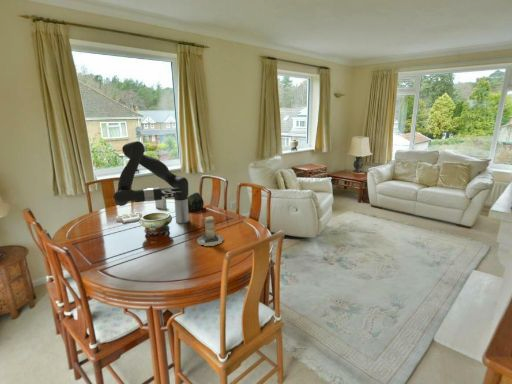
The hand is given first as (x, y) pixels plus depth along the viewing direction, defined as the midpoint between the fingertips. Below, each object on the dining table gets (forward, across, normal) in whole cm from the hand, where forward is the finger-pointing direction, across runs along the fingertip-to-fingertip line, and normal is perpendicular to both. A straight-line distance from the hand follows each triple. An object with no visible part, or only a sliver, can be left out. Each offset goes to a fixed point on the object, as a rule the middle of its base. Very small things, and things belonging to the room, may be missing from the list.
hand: (180, 191), depth 175 cm
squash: (+21, +57, +32) cm, 69 cm away
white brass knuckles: (-29, +54, +32) cm, 69 cm away
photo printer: (-4, +73, +32) cm, 80 cm away
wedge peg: (+14, -10, +30) cm, 35 cm away
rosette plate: (+14, -10, +31) cm, 36 cm away
